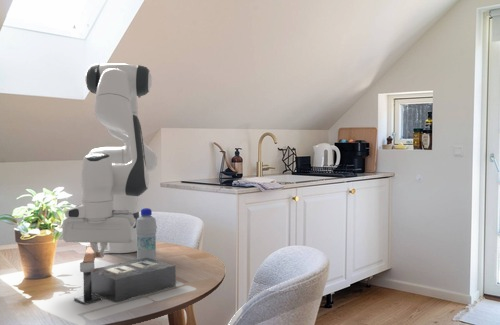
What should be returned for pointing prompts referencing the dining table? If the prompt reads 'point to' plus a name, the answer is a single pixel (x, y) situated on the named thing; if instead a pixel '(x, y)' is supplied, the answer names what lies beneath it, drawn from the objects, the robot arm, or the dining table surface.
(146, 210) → the bottle
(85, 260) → the swing arm
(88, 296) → the pivot post
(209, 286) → the dining table surface
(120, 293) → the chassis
